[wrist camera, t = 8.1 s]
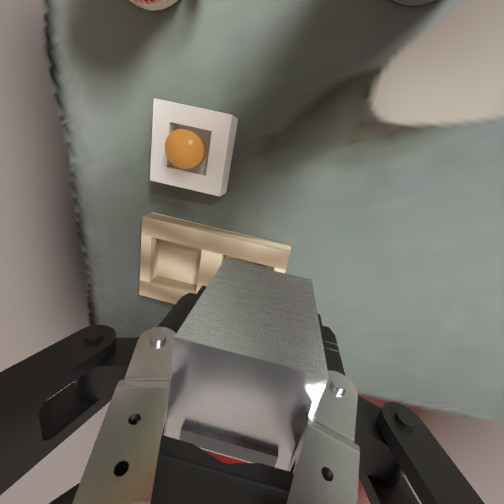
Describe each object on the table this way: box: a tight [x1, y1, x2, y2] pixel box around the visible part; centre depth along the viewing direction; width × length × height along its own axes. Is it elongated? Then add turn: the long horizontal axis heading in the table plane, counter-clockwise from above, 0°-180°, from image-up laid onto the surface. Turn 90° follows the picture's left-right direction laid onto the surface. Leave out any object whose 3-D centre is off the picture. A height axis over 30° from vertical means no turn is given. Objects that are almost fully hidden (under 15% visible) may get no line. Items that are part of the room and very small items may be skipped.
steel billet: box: [165, 259, 329, 471], centre depth 11 cm, size 4×4×6 cm
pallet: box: [139, 212, 291, 304], centre depth 33 cm, size 11×18×2 cm, turn 79°
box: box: [150, 98, 238, 196], centre depth 28 cm, size 8×8×3 cm
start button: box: [165, 129, 206, 169], centre depth 26 cm, size 4×4×2 cm
